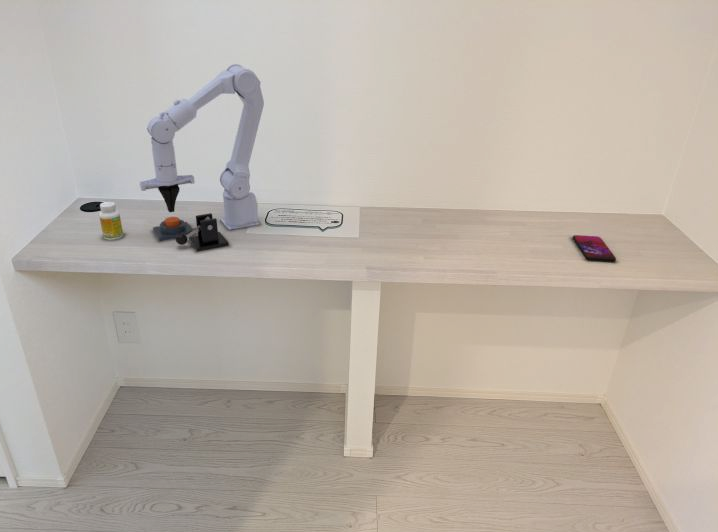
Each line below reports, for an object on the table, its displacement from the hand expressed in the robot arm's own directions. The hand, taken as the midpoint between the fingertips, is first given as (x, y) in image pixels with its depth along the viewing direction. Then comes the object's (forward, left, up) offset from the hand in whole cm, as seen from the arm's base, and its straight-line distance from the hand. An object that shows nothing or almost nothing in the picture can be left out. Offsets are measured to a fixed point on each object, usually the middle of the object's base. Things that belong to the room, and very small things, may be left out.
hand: (171, 210), depth 162 cm
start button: (0, 0, -5) cm, 5 cm away
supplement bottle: (+16, -5, -7) cm, 18 cm away
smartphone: (-102, +60, -7) cm, 118 cm away
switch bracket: (-7, +11, -7) cm, 14 cm away
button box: (0, 0, -7) cm, 7 cm away
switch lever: (-4, +11, -4) cm, 12 cm away
